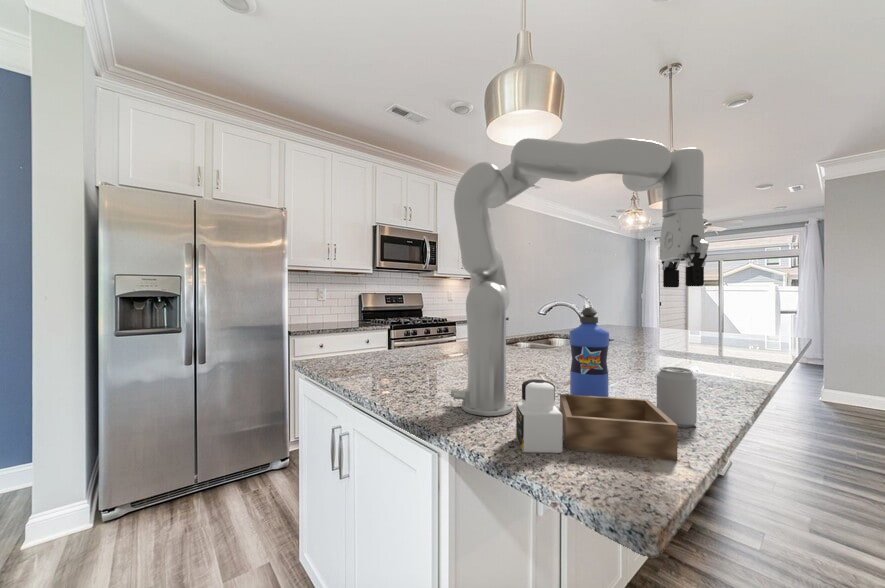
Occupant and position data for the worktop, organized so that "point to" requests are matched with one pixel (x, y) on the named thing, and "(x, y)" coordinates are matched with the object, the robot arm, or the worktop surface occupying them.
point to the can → (677, 395)
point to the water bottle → (589, 357)
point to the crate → (617, 427)
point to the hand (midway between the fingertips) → (682, 286)
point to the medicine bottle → (538, 418)
